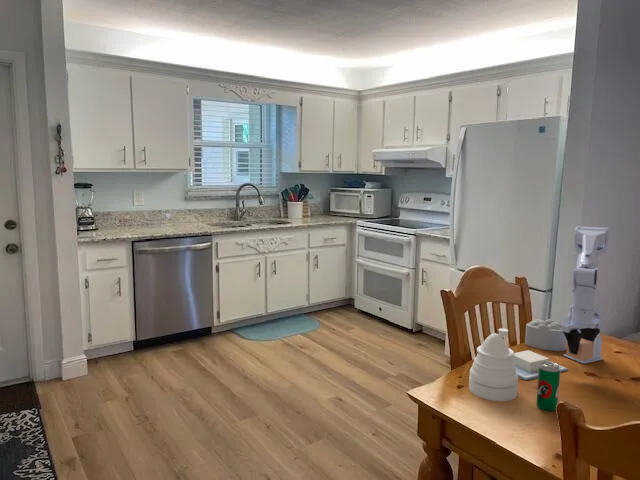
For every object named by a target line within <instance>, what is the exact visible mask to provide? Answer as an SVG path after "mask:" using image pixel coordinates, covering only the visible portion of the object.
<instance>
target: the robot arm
mask: <svg viewBox="0 0 640 480" xmlns="http://www.w3.org/2000/svg"><path fill="white" fill-rule="evenodd" d="M609 235H610V228H609V227H607V226H606V227H599V226H598V227H597V226H580V225H577V226H576V227H575V230H574V238H573V239H574V240H573V241H574V242H573V243H574V249H575V252H577V253H579V254H578V255H577V259H576V265H575V268H573V269H572V270H573V271H572V278H571V279H572V281H571V282H572V283H571V284H572V293H573V294H572V303H571V305H570V306H569V309H568V313H567V320H566V322H565V323H563V324H561V326H562V331H563V333H564V335H565V337H566V339H567V341H566V344H567V343H568V347H569V352H570V353H572V354H575V355H577V353H578V349H579V344H580V341H581V338H583V339H586V340H589V341H592V342H594V348H593V358H592V359H588V360H584V361H580V360H577V359H574V358H572V357H569V356H567V355H566V353H564V354H563V357H565V358H568V359H570V360H573V361H576V362H578V363H580V364H583V365H584V364H589V363H594V362H597V361H602V360H604V357H602V346H603V338H602V336H601V334H600V333H601V332H602V331H601V330H602V318H603V315H602V314H603V311H602V309H601V308H599V307H598V305H596V304H595V301H596V291H597V287H598V284H599V274H600V273H599V272H600V271H599V258H600V257H601V256H602V255H605V254H606V253H607V251H608V245H609Z"/></svg>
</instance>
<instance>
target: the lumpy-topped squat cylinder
mask: <svg viewBox="0 0 640 480" xmlns="http://www.w3.org/2000/svg"><path fill="white" fill-rule="evenodd" d="M524 336H525V337H524V344H525V345H526V346H528V347H533V348H537V349H540V350H544V351H552V352H553V351H554V352H555V351H556V352H560V351H561V352H563V351H565V350H566V351H567V339H566V337H565V335H564V333H563V331H562V324H560V322H556V321H555V320H553V319H550V318H549V319H546V320H543V319H542V318H541V319H540V318H535V319H534V320H531V321H530V322H527V323H526V325H525V335H524Z"/></svg>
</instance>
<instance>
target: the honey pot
mask: <svg viewBox="0 0 640 480" xmlns="http://www.w3.org/2000/svg"><path fill="white" fill-rule="evenodd" d="M508 333H509V329H508V328H498V333H492V334H489V335H488V336H487V337H486V338H485V340H484V341H483V343H482V344H481V345H479V346H478V347H476V351H477V354H476V356H475V357H474V359H473V363H472V366H471V367H470V369H469V379H468V388H469V391H470V392H471V393H472V394H473V395H475V396H477V397H479V398H481V399H485V400H489V401H495V402H496V401H498V402H507V401H512V400H514V399H515V398H516V397H517V396H518V385H519V384H518V382H519V377H518V375H517V373H516V369H515V367H514V366H515V364H514V362H513V360H512V357H514V354H515V353H516V352H515V351H514V350H512V349H511V348H510V347H508V345H507V343H506V340H505V339H504V338H505V337H507V335H508Z"/></svg>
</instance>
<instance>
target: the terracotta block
mask: <svg viewBox="0 0 640 480" xmlns="http://www.w3.org/2000/svg"><path fill="white" fill-rule="evenodd" d="M593 348H594V342H592V341H589V340H586V339H583V338H581V341H580V344H579V349H578V353H577V355H575V354H572V353H570V352H569V347H568V343H567V342H566V353H565V354H566V355H567V356H569V357H572V358H574V359H577V360H580V361H584V360H588V359H592V358H593Z"/></svg>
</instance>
